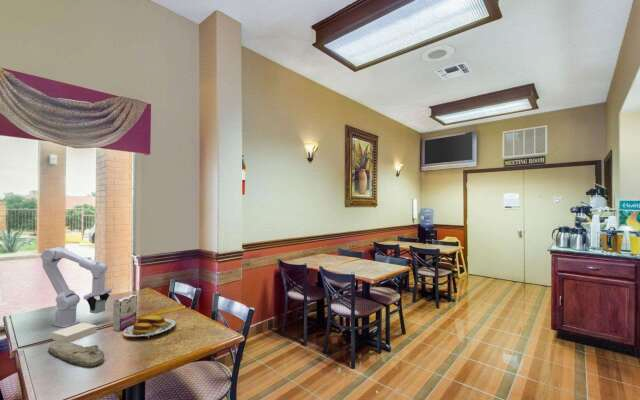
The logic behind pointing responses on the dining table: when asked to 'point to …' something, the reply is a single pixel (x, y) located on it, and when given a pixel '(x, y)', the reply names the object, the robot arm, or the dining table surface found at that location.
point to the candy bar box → (124, 312)
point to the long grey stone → (77, 353)
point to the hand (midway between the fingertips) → (97, 308)
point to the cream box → (74, 332)
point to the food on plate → (149, 326)
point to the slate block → (99, 306)
